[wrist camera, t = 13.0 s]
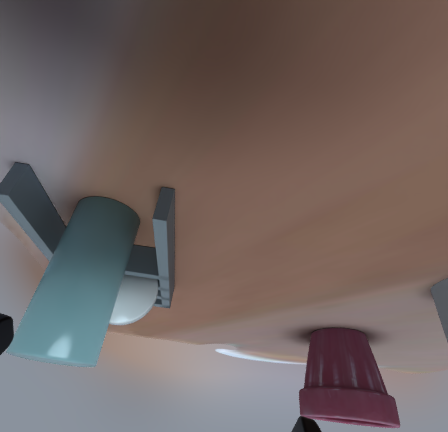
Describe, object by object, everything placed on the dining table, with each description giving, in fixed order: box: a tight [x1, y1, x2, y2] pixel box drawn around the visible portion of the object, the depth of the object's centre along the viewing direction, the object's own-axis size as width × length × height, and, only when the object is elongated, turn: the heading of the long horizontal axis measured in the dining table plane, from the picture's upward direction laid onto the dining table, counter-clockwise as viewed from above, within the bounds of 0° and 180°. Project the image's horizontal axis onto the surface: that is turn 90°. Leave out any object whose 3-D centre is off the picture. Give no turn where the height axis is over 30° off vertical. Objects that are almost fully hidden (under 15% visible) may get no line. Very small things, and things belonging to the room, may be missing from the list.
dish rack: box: [0, 162, 175, 308], centre depth 30 cm, size 21×12×3 cm, turn 172°
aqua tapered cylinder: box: [6, 197, 140, 367], centre depth 23 cm, size 6×6×12 cm
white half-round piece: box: [109, 274, 158, 325], centre depth 30 cm, size 1×7×7 cm, turn 82°
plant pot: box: [299, 328, 400, 428], centre depth 48 cm, size 14×14×13 cm
